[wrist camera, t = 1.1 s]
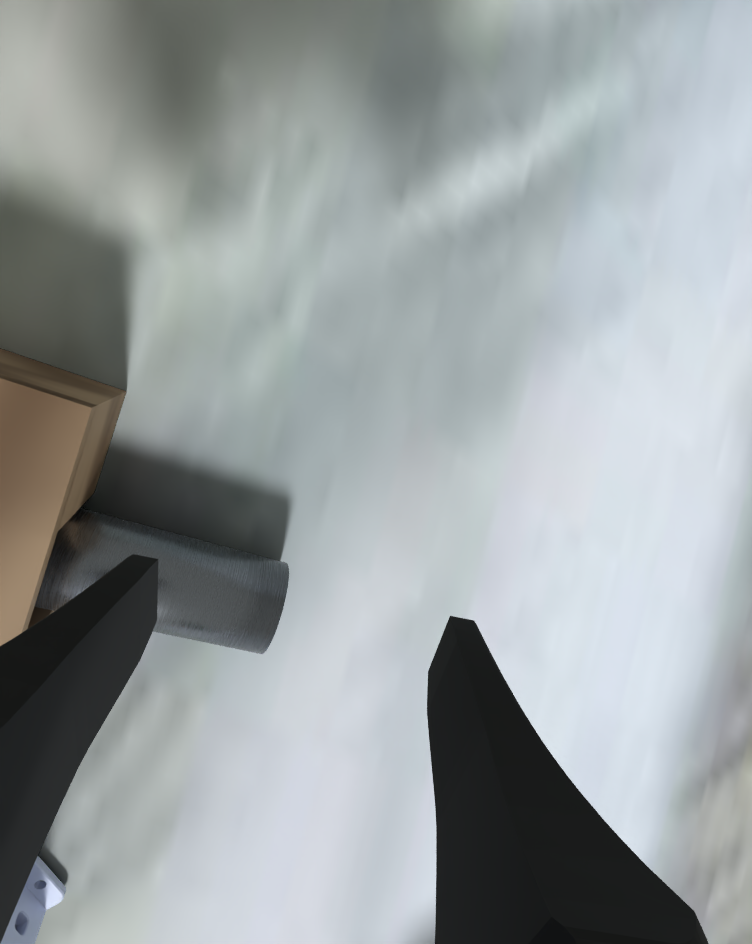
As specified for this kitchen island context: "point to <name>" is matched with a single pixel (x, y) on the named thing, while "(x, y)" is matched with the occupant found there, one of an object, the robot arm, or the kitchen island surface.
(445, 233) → the kitchen island surface
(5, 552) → the beam
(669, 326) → the kitchen island surface
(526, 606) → the kitchen island surface
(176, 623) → the axle
